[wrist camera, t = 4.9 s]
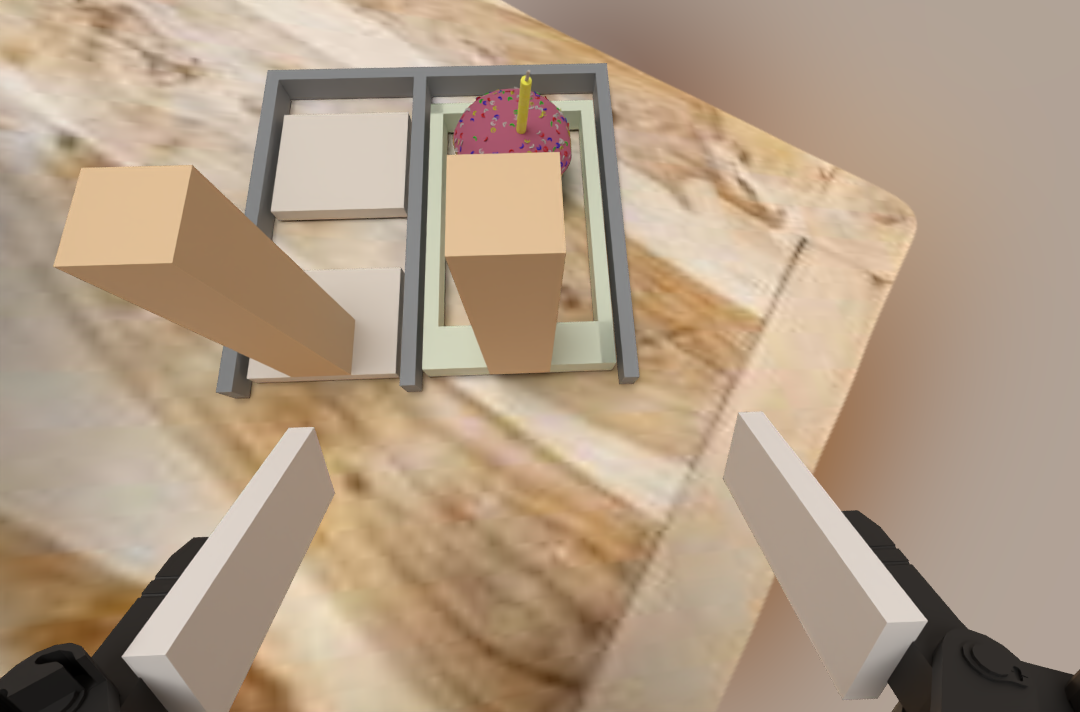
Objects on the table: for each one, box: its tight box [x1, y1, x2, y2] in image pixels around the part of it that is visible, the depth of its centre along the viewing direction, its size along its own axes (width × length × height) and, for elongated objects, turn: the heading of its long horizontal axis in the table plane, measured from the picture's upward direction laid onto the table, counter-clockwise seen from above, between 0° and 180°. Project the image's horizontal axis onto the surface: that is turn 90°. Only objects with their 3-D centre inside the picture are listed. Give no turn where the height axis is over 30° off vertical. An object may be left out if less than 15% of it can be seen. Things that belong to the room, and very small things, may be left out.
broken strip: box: [53, 112, 412, 383], centre depth 27 cm, size 22×10×17 cm, turn 2°
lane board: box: [216, 63, 639, 398], centre depth 35 cm, size 27×28×2 cm
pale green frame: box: [422, 100, 616, 377], centre depth 27 cm, size 22×13×18 cm, turn 2°
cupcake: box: [453, 70, 571, 177], centre depth 31 cm, size 9×8×12 cm
